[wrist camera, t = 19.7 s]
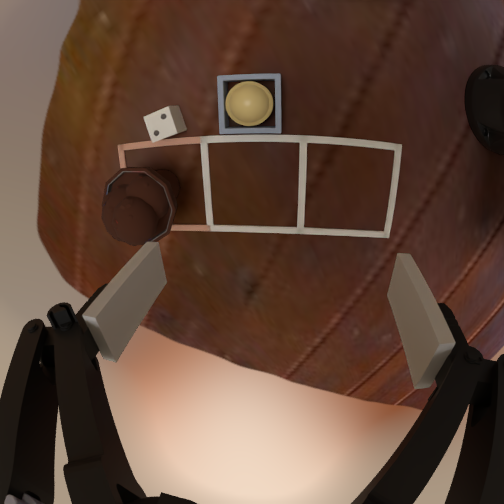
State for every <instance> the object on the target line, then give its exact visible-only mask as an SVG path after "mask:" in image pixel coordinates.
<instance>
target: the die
mask: <svg viewBox="0 0 504 504" xmlns="http://www.w3.org/2000/svg"><path fill="white" fill-rule="evenodd" d="M144 120H145V123H146V126H147V129H148V132H149V135H150V138H151V140H152V143H154V142H156V141H159V140H162V139H165V138H167V137H170V136H172V135H175V134H177V133H180V132H183V131H186V130H187V129H186V126H185V123H184V120H183V117H182V114H181V111H180V108H179V105H177V106H168V107H165V108H163V109H161V110H158V111H156V112H154V113H152V114H149V115H147V116H145V117H144Z"/></svg>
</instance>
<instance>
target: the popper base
mask: <svg viewBox="0 0 504 504" xmlns="http://www.w3.org/2000/svg"><path fill="white" fill-rule="evenodd" d="M217 80H218V108H219V131H220V134H237V133H281V132H282V106H281V74H241V75H224V76H217ZM237 81H275V112H276V126H239V127H229V115H228V113H227V110H226V105H225V103H226V97H227V95H228V82H237Z"/></svg>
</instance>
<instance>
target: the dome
mask: <svg viewBox="0 0 504 504" xmlns="http://www.w3.org/2000/svg"><path fill="white" fill-rule="evenodd" d="M225 105H226V110H227V113H228V115H229V116H230V117H231V119H232V120H234V121H235V122H236V123H238V124H240V125H244V126H254V125H258V124H260V123H262V122H263V121H265V120H266V119H267V118H268V117H269V116H270V114H271V113H272V110H273V107H274V100H273V97H272V94H271V93H270V91H269V90H268V89H267V88H266V87H265V86H263V85H261V84H259V83H257V82H253V81H246V82H241V83H239V84H237V85H235V86H234V87H233V88H232V89H231V90H230V91H229V93H228V95H227V97H226V103H225Z"/></svg>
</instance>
